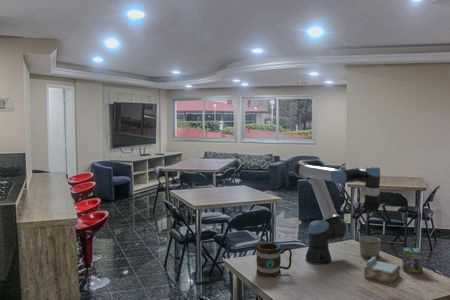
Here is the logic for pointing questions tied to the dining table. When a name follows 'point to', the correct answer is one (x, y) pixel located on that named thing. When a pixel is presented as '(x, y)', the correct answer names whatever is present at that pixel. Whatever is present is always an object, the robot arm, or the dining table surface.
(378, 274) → the oak case
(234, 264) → the dining table surface
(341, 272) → the dining table surface
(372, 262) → the cover plate
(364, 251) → the planter
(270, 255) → the mug
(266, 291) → the dining table surface
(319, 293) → the dining table surface
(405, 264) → the chalk box
